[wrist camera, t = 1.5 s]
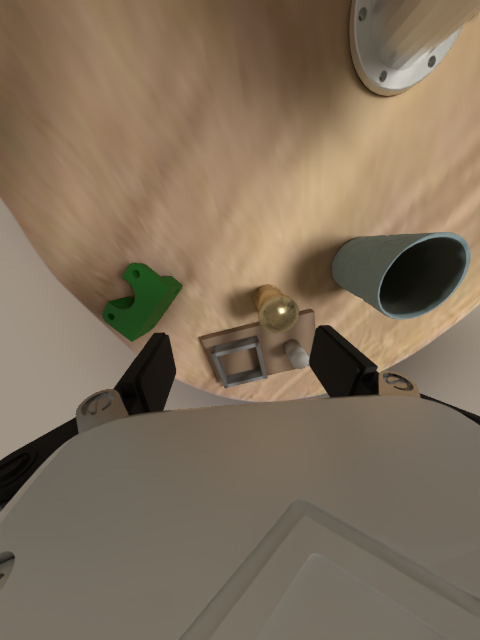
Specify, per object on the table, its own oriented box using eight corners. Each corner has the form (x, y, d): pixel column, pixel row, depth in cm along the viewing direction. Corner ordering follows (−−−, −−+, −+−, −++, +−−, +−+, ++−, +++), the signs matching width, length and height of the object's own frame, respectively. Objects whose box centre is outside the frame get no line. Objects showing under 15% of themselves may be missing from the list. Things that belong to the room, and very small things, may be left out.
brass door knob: (280, 278, 30) (297, 292, 23) (284, 307, 33) (300, 328, 26) (248, 286, 31) (255, 302, 24) (254, 315, 33) (263, 337, 26)
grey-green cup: (392, 259, 31) (483, 273, 20) (346, 302, 34) (403, 334, 23) (362, 217, 27) (451, 207, 16) (313, 269, 30) (362, 289, 20)
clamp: (161, 269, 32) (141, 249, 23) (186, 290, 33) (176, 278, 24) (116, 318, 31) (77, 316, 22) (143, 338, 32) (116, 345, 23)
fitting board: (310, 308, 34) (328, 324, 28) (313, 359, 40) (328, 380, 34) (202, 336, 34) (197, 356, 29) (220, 381, 40) (220, 406, 35)
